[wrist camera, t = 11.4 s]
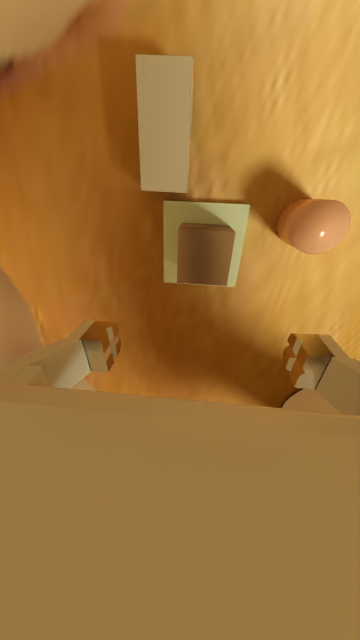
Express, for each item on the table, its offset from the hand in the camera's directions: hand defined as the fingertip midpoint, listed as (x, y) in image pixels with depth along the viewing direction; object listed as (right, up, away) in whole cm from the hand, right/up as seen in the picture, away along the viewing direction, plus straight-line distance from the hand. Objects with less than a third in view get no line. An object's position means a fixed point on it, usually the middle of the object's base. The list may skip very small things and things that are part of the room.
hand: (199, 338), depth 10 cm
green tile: (+2, +10, +14) cm, 17 cm away
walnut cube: (+2, +9, +14) cm, 17 cm away
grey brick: (-2, +18, +10) cm, 20 cm away
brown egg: (+12, +11, +12) cm, 20 cm away
